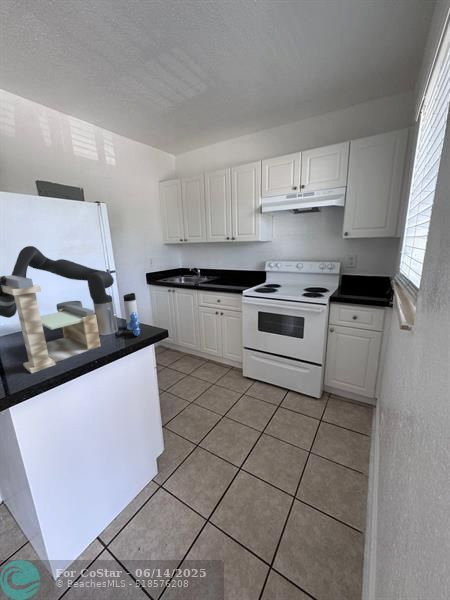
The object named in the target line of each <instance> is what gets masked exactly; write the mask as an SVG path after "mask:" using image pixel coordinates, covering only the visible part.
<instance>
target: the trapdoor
mask: <svg viewBox="0 0 450 600" xmlns="http://www.w3.org/2000/svg"><path fill="white" fill-rule="evenodd" d="M64 306H65V311H62V312H58V311H57V312H53V313H49V314H48V313H47V314H44V315H40V317H41V322H42V327H45V328H48V329H49V330H52V331H53V330H55V329H59V328H62V327H64V326H68V325H72V324H76V323H80V322H83V319H82V317H87V316H91V315H95V311H94V310H93V309H90V308H87V307H83V306H82V307H80V306H76V305H73V304H68V305H64Z"/></svg>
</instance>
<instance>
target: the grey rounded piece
mask: <svg viewBox="0 0 450 600" xmlns="http://www.w3.org/2000/svg"><path fill="white" fill-rule="evenodd" d="M68 304H73V305H76V306H80V307H83V302H82V301H81V300H69V301H63V302H60V303H57V304H56V311H57V312H59V310H60V309H64V308H65V306H64V305H68Z"/></svg>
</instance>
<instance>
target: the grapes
mask: <svg viewBox="0 0 450 600" xmlns="http://www.w3.org/2000/svg"><path fill="white" fill-rule="evenodd" d="M137 314H138V313H137ZM137 314H136V313H134V312H133V313H132V314H131V316H130V318H131V320H130V322H128V323H127V322H126V328H127V327H128V328H131V329H132V330H131V331H132V334H133V335H134V336H135V337H139V335H140V334H141V328H140V324H141V323H140V322H139V317H137ZM137 319H138V321H137Z"/></svg>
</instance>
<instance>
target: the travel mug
mask: <svg viewBox="0 0 450 600" xmlns="http://www.w3.org/2000/svg"><path fill="white" fill-rule="evenodd" d="M122 297H123V305H124V314H125V320H126V324H127V323H128V322H130V320H131V318H130V316H131V314H132V313H133V312H134V313H136V314H137V317H138V315H139V314H138V306H137V298H136V293H135V292H131V293H127V294H124V295H123V296H122ZM137 321H138V322H139V317H138V319H137ZM126 330H128V331H133V330H132V329H131V328H128V327H127V326H126Z"/></svg>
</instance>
